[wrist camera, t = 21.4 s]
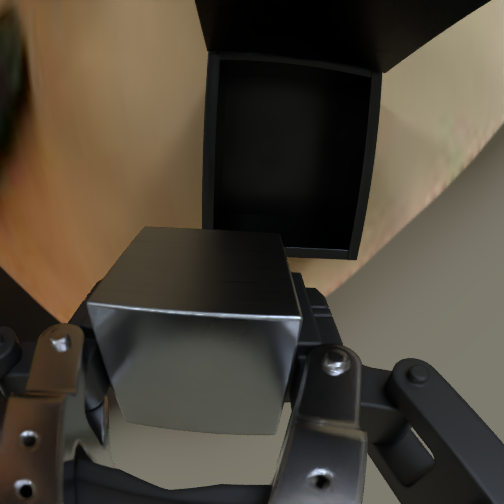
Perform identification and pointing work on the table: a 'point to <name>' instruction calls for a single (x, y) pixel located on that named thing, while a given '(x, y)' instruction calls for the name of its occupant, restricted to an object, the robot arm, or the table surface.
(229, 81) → the black open box
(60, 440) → the robot arm
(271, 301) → the steel block
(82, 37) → the table surface
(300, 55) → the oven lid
